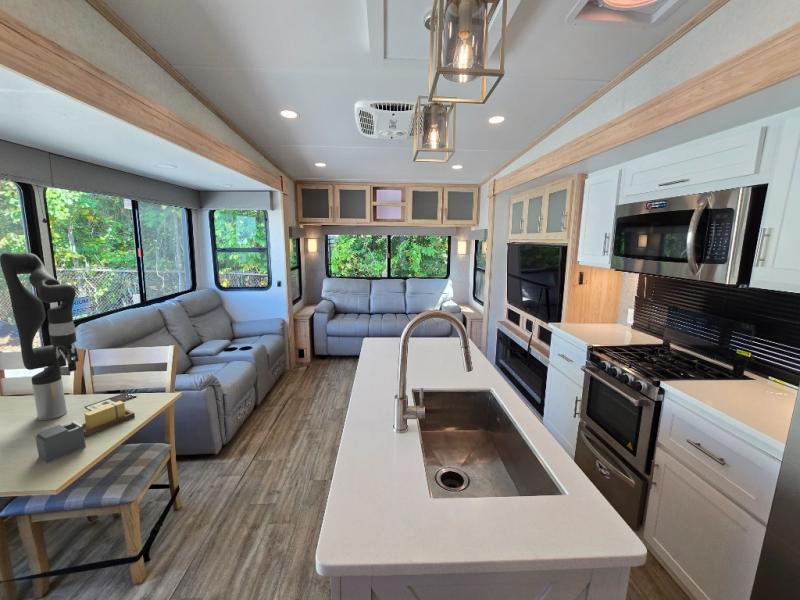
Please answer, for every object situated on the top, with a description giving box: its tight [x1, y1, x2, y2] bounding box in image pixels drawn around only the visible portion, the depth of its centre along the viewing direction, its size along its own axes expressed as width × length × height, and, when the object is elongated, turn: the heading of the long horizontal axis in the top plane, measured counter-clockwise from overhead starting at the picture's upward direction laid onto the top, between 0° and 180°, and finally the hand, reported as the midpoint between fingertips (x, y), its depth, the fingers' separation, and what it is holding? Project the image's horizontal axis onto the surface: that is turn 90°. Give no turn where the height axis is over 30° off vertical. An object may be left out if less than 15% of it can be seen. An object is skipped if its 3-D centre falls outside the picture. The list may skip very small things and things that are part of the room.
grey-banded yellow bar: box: [83, 401, 126, 430], centre depth 147 cm, size 4×13×7 cm, turn 155°
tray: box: [76, 408, 136, 438], centre depth 147 cm, size 8×18×2 cm, turn 155°
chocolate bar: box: [84, 391, 137, 411], centre depth 166 cm, size 9×1×18 cm
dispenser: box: [34, 420, 87, 464], centre depth 127 cm, size 7×11×10 cm, turn 155°
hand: (67, 368), depth 139 cm, fingers open, 8 cm apart
